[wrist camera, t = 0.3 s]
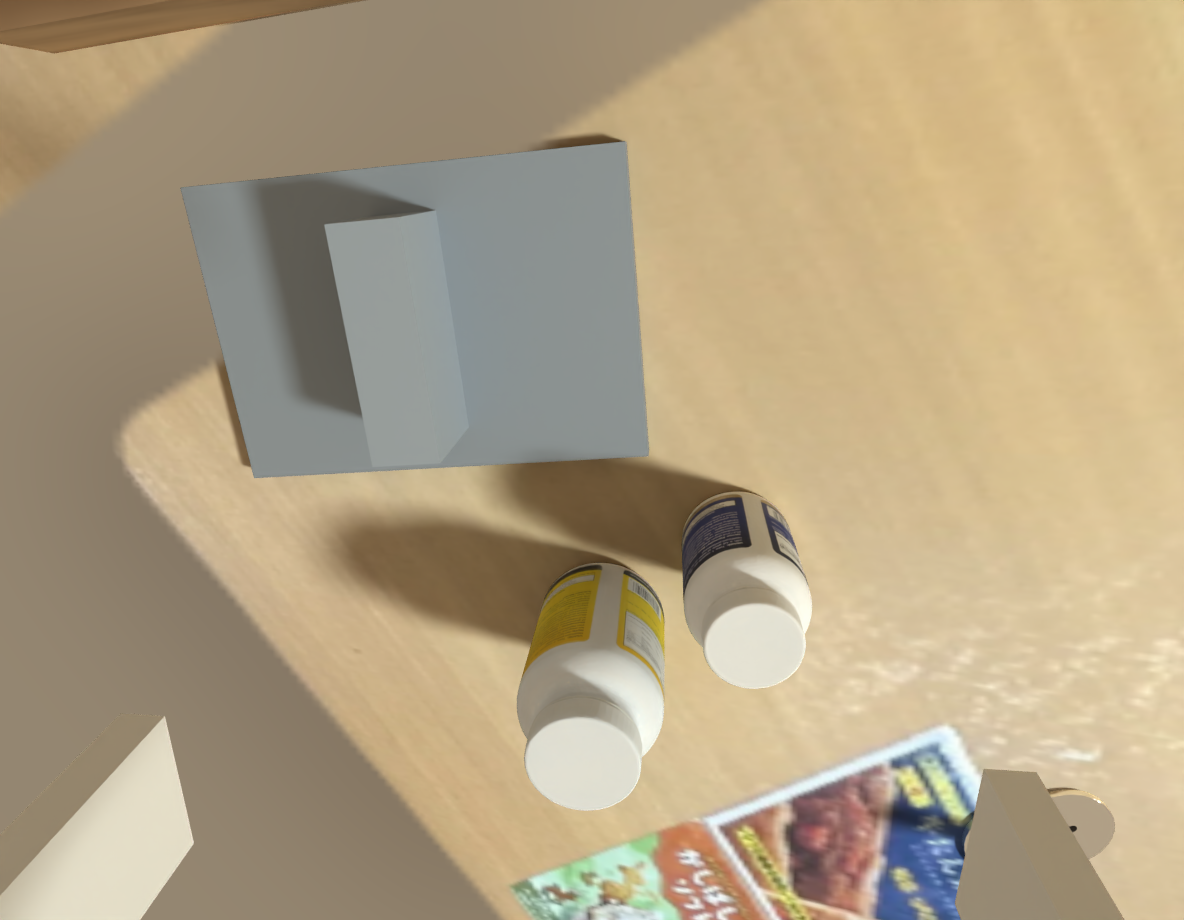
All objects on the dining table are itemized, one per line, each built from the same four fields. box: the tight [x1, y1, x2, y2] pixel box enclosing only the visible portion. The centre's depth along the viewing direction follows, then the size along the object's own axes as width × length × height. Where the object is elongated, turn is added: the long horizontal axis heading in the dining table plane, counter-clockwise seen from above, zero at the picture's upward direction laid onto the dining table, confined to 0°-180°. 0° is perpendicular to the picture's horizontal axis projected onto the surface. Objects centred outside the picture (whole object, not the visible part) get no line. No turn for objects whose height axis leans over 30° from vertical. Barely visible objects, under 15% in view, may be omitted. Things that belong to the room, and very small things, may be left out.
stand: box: [962, 789, 1115, 859], centre depth 41 cm, size 8×5×8 cm
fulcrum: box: [181, 141, 649, 478], centre depth 35 cm, size 14×20×6 cm
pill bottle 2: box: [682, 492, 812, 689], centre depth 35 cm, size 5×5×10 cm
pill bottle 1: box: [517, 563, 664, 811], centre depth 37 cm, size 6×6×12 cm
